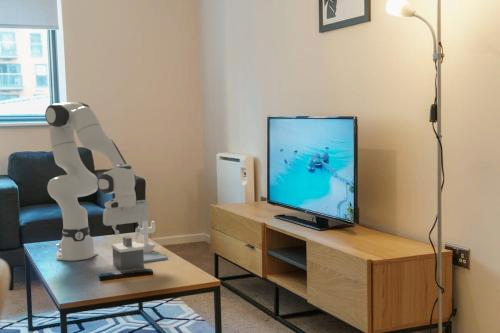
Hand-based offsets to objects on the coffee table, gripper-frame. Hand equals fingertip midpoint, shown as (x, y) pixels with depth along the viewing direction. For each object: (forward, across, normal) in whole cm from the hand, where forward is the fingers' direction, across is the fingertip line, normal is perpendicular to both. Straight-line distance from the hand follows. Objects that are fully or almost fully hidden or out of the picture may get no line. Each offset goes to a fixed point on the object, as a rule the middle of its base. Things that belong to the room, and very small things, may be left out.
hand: (127, 233), depth 288 cm
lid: (+8, 0, -1) cm, 8 cm away
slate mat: (+14, -13, -10) cm, 22 cm away
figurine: (+14, -16, -24) cm, 32 cm away
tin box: (+14, 0, -1) cm, 15 cm away
